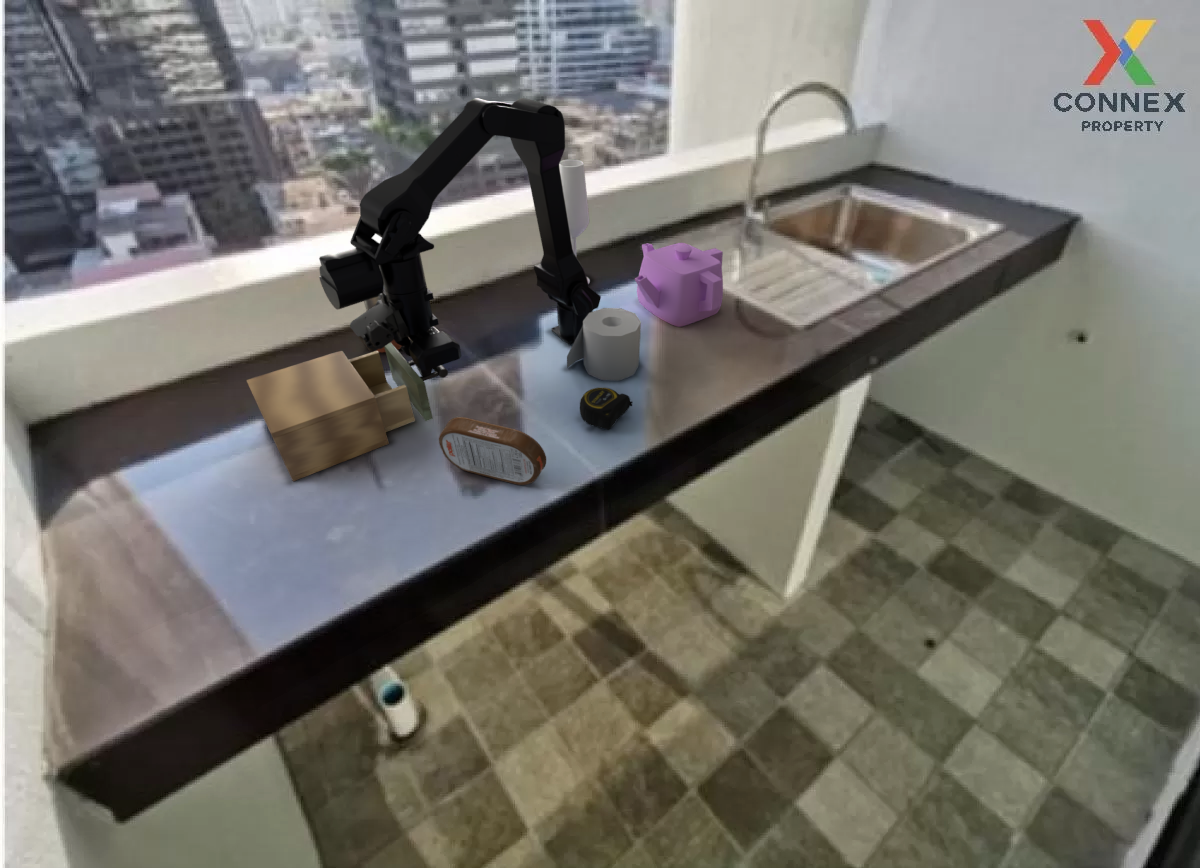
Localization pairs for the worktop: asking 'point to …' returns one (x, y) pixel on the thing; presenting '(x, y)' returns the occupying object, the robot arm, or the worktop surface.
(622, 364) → the toilet tissue
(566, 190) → the champagne flute
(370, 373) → the drawer
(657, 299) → the teakettle
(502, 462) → the tin
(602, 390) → the tape measure
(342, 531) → the worktop surface
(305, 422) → the cabinet
